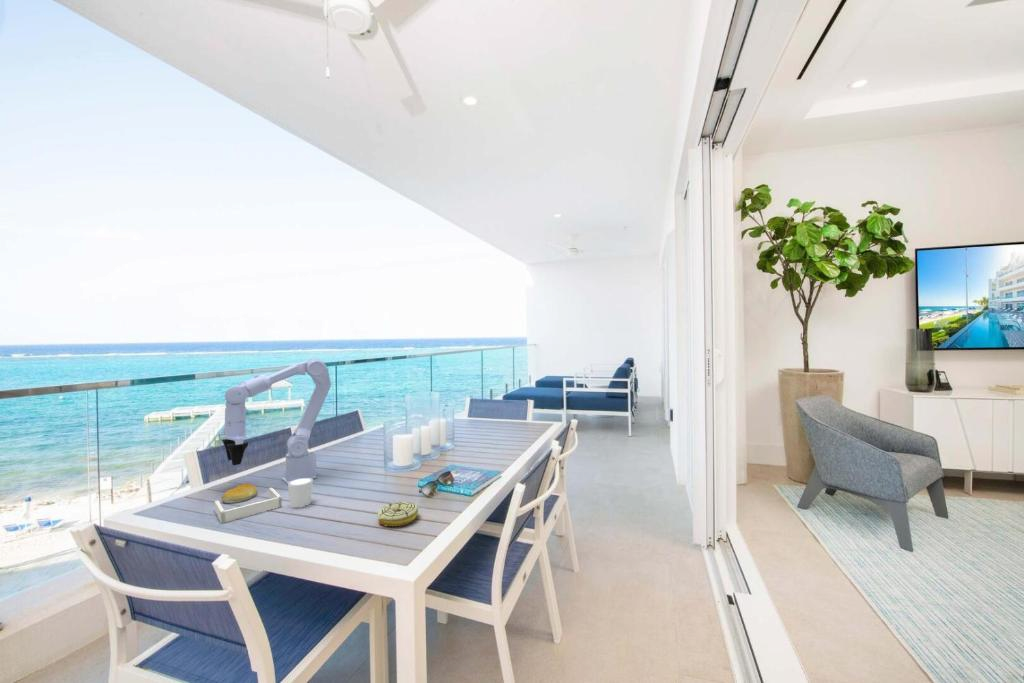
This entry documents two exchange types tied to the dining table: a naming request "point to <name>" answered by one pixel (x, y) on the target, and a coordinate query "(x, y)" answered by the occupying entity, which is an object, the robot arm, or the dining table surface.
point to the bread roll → (240, 493)
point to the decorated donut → (397, 513)
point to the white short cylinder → (300, 491)
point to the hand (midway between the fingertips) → (234, 462)
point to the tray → (248, 508)
